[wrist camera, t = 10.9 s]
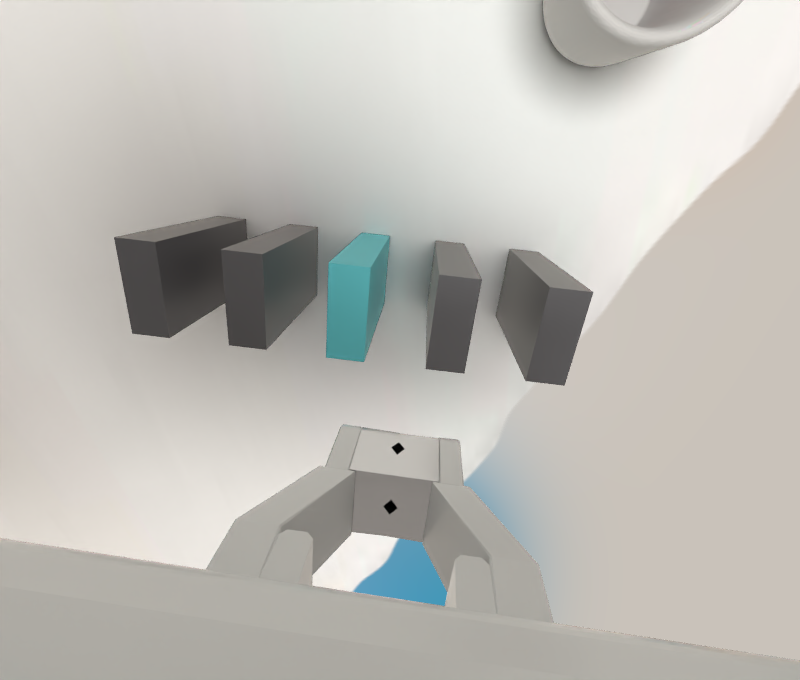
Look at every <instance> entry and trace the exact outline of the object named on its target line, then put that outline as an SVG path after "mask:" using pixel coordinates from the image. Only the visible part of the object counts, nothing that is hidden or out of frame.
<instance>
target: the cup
mask: <svg viewBox="0 0 800 680" xmlns="http://www.w3.org/2000/svg"><path fill="white" fill-rule="evenodd" d="M742 1H743V0H543V15H544V22H545V26H546V30H547V33H548V35H549V37H550V39H551V42H552V43H553V45H554V46H555V48H556V49H557V50H558V51H559V52H560V53H561V54H562V55H563V56H564V57H565V58H567V59H568V60H570V61H572V62H574V63H576V64H579V65H583V66H589V67H601V66H608V65H612V64H616V63H620V62H623V61H626V60H629V59H632V58H635V57H638V56H642V55H645V54H648V53H651V52H654V51H657V50H660V49H663V48H667V47H670V46H673V45H676V44H679V43H682V42H684V41H687V40H689V39H691V38H693V37H695V36H697V35H699V34H701V33H703V32H705V31H706V30H708V29H710V28H711V27H713V26H714V25H715V24H717V23H718V22H720V21H721V20H722V19H724V18H725V17H726V16H727V15H728V14H730V13H731V12H732V11H733V10H734V9H735V8H736V7H737V6H738V5H739V4H740V3H741V2H742Z"/></svg>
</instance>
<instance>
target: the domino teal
mask: <svg viewBox="0 0 800 680" xmlns="http://www.w3.org/2000/svg"><path fill="white" fill-rule="evenodd" d="M389 241H390V236H387V235H378V234H370V233H361V234H360V235H359V236H358V237H356V238H355V239H354V240H353V241H352V242H351V243H350V244H349V245H348V246H347V247H345V248H344V249H343V250H342V251H341V252H340V253H339V254H338V255H337V256H335V257H334V258H333V259H332V260H331V261H330V262H329V265H328V304H327V342H326V357H327V358H335V359H343V360H352V361H360V362H364V361H365V358H366V355H367V352H368V349H369V346H370V343H371V340H372V337H373V334H374V331H375V328H376V325H377V322H378V320H379V317H380V314H381V311H382V308H383V305H384V299H385V287H386V276H387V264H388V253H389Z"/></svg>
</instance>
